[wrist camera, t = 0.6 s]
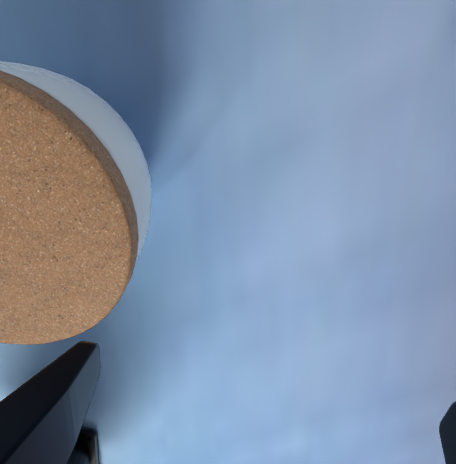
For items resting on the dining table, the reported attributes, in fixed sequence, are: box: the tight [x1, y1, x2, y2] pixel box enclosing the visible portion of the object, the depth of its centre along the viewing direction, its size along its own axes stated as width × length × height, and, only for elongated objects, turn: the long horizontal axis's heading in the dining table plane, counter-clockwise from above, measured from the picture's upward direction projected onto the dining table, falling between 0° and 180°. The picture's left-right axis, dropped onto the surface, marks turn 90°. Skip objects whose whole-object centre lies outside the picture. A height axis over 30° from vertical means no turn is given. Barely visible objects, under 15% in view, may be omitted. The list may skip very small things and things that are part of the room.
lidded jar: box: [0, 61, 152, 344], centre depth 16 cm, size 11×11×9 cm
